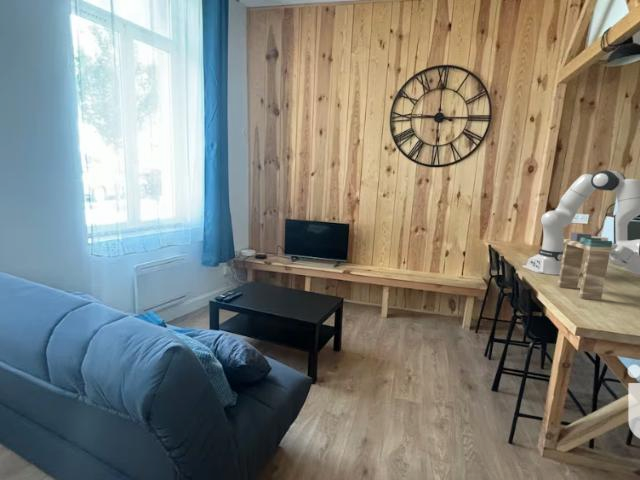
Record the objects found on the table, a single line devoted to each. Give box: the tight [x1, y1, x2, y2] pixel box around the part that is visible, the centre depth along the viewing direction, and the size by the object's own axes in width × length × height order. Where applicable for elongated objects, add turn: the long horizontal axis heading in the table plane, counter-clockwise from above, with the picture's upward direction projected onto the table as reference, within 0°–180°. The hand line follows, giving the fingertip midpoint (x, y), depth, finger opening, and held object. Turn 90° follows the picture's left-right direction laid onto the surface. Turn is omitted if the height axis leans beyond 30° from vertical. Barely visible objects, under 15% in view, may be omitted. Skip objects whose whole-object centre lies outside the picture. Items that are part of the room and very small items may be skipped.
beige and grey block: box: [569, 231, 609, 242], centre depth 183 cm, size 16×5×4 cm, turn 86°
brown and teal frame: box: [557, 237, 613, 301], centre depth 180 cm, size 20×10×29 cm, turn 176°
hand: (599, 239), depth 183 cm, fingers open, 8 cm apart
